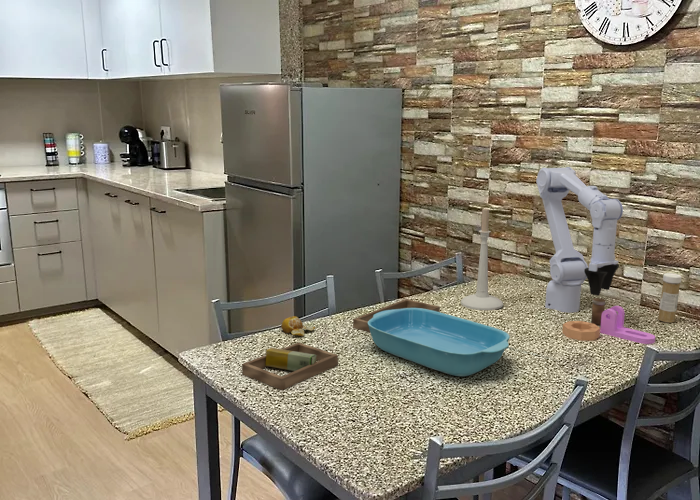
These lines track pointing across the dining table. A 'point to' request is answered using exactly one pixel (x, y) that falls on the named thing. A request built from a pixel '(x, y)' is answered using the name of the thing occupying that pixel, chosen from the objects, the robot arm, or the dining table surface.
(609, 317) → the bracket
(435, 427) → the dining table surface
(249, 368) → the box frame
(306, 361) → the medication box
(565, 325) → the orange flat ring
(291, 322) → the fruit
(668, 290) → the sprinkles bottle
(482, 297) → the candlestick
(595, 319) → the peg
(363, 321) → the wagon frame
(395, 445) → the dining table surface
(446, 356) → the casserole dish
